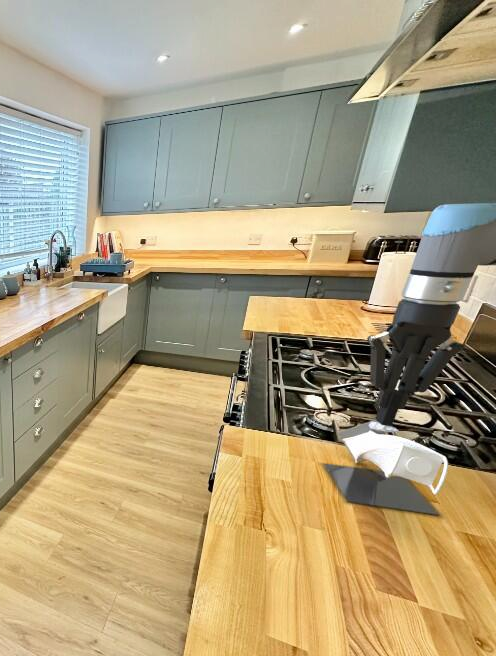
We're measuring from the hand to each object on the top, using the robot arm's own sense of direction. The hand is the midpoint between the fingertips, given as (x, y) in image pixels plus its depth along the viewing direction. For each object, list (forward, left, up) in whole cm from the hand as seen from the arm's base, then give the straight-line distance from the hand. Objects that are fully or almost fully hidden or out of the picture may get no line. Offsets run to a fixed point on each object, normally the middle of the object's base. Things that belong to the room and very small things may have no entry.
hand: (383, 422), depth 80 cm
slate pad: (0, +5, -12) cm, 13 cm away
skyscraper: (-1, -6, -8) cm, 10 cm away
